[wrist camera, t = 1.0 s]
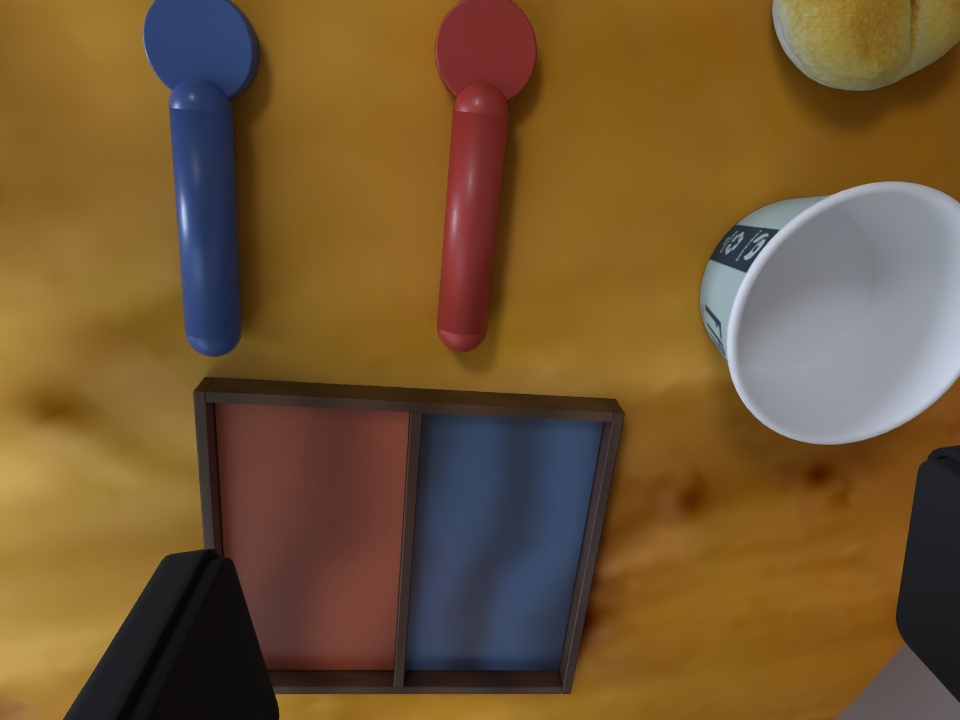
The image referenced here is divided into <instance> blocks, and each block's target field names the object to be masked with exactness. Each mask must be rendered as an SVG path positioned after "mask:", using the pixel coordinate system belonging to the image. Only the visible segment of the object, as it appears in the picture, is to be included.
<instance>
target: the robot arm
mask: <svg viewBox="0 0 960 720" xmlns="http://www.w3.org/2000/svg"><path fill="white" fill-rule="evenodd" d="M896 622H897V627H898V629H899V632H900V634H901V636H902V638H903V640H904V641H905V642H906V644H907V645H908V646H909V647H910V648H911V650H912V651H913V652H914V653H915V654H916V655H917V656H918V657H919V658H920V659H921V660H922V662H923V663H924V664H925V665H926V666H927V667H928V668H929V669H930V670H931V671H932V673H933V674H934V675H935V676H936V677H937V678H938V679H939V680H940V681H941V683H942V684H943V685H944V686H945V687H946V688H947V689H948V690H949V691H950V692H951V694H952V695H953V696H954V697H955V698H956V699H957V700H958V701H959V702H960V445H957V446H950V447H943V448H938V449H936V450H933V451H932V452H931V454H930V455H929V456H928V459H927V461H925V462H923V463H922V464H921V465H920V467H919V470H918V474H917V481H916V487H915V494H914V500H913V507H912V513H911V520H910V526H909V533H908V539H907V546H906V552H905V559H904V565H903V572H902V578H901V585H900V591H899V598H898V604H897V611H896ZM63 720H279V708H278V704H277V700H276V697H275V694H274V690H273V687H272V684H271V681H270V678H269V674H268V671H267V668H266V665H265V661H264V658H263V655H262V652H261V649H260V645H259V642H258V639H257V636H256V632H255V629H254V626H253V623H252V620H251V616H250V613H249V610H248V607H247V603H246V600H245V597H244V594H243V591H242V587H241V584H240V581H239V578H238V574H237V571H236V568H235V565H234V563H233V561H232V560H231V559H230V558H220V555H219V554H218V553H217V551H216V550H214V549H204V550H197V551H189V552H182V553H175V554H170V555H167V556H166V557H165V558H164V559H163V560H162V561H161V563H160V564H159V566H158V568H157V569H156V571H155V572H154V574H153V576H152V577H151V579H150V581H149V582H148V584H147V585H146V587H145V589H144V590H143V592H142V593H141V595H140V597H139V598H138V600H137V602H136V603H135V605H134V606H133V608H132V610H131V611H130V613H129V615H128V616H127V618H126V619H125V621H124V623H123V624H122V626H121V627H120V629H119V631H118V632H117V634H116V636H115V637H114V639H113V640H112V642H111V644H110V645H109V647H108V649H107V650H106V652H105V653H104V655H103V657H102V658H101V660H100V662H99V663H98V665H97V666H96V668H95V670H94V671H93V673H92V674H91V676H90V678H89V679H88V681H87V683H86V684H85V686H84V687H83V688H82V690H81V691H80V693H79V695H78V696H77V698H76V699H75V701H74V703H73V704H72V706H71V708H70V709H69V711H68V712H67V714H66V716H65V717H64V719H63Z"/></svg>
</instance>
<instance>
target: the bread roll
mask: <svg viewBox="0 0 960 720" xmlns="http://www.w3.org/2000/svg"><path fill="white" fill-rule="evenodd" d="M772 15H773V21H774V26H775V30H776V34H777V36H778V39H779V41H780V43H781V46H782V48H783V50H784V51H785V53H786V54H787V56H788V57H789V58H790V59H791V61H792V62H793V63H794V64H795V65H796V67H797V68H798V69H799V70H800V71H802V72H803V73H804V74H805V75H806V76H808V77H809V78H811V79H812V80H814V81H816V82H818V83H820V84H823V85H825V86H827V87H831V88H837V89H843V90H855V91H866V90H874V89H878V88H881V87H885V86H888V85H890V84H893V83H895V82H897V81H899V80H901V79H902V78H904V77H906V76H908V75H911V74H913V73H915V72H917V71H919V70H921V69H922V68H924V67H926V66H928V65H929V64H932V63H933V62H934V61H936V60H937V59H939V58H940V57H942V56H943V55H945V54H946V53H947V52H948V51H949V50H950V49H951V48H952V47H953V46H954V45H955V44H957V43H958V42H959V41H960V0H773V6H772Z"/></svg>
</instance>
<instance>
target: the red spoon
mask: <svg viewBox="0 0 960 720" xmlns="http://www.w3.org/2000/svg"><path fill="white" fill-rule="evenodd" d="M536 53H537V48H536V39H535V34H534V31H533V28H532V26H531V24H530V22H529V20H528V18H527V17H526V15H525V14H524V13H523V11H522V10H521V9H520V8H519V7H518V6H517V5H515V4H514V3H513V2H511V1H510V0H462V1H460V2H459V3H458V4H456V5H455V6H454V7H453V8H452V9H451V10H450V11H449V12H448V14H447V15H446V16H445V18H444V19H443V21H442V23H441V25H440V28H439V31H438V34H437V38H436V45H435V59H436V65H437V69H438V72H439V75H440V77H441V79H442V81H443V83H444V84H445V86H446V87H447V88H448V90H449V91H450V92H451V93H452V94H453V95H454V96H456V97H457V99H456V101H455V104H454V108H453V119H452V132H451V146H450V159H449V173H448V186H447V200H446V213H445V227H444V240H443V254H442V267H441V281H440V294H439V308H438V321H437V331H438V335H439V337H440V339H441V341H442V342H443V344H444V345H445V346H447V347H448V348H449V349H451V350H454V351H457V352H467V351H471V350H473V349H475V348H476V347H478V346H479V345H480V344H481V343H482V341H483V340H484V338H485V336H486V332H487V325H488V315H489V306H490V296H491V286H492V277H493V267H494V257H495V248H496V238H497V228H498V219H499V209H500V199H501V190H502V180H503V170H504V161H505V151H506V141H507V132H508V122H509V107H508V103H507V101H509V100H510V99H512V98H513V97H515V96H516V95H517V94H518V93H519V92H520V91H521V90H522V89H523V88H524V87H525V85H526V84H527V82H528V81H529V79H530V77H531V75H532V72H533V70H534V66H535V62H536Z"/></svg>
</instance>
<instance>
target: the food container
mask: <svg viewBox="0 0 960 720" xmlns="http://www.w3.org/2000/svg"><path fill="white" fill-rule="evenodd" d="M700 308H701V315H702V319H703V322H704V325H705V328H706V330H707V332H708V334H709V336H710V337H711V339H712V341H713V342H714V344H715V345H716V347H717V348H718V350H719V351H720V353H721V354H722V356H723V357H724V359H725V360H726V362H727V363H728V366H729V370H730V374H731V378H732V381H733V383H734V386H735V388H736V390H737V392H738V394H739V396H740V398H741V400H742V401H743V402H744V404H745V405H746V407H747V408H748V409H749V410H750V411H751V413H752V414H753V415H754V416H755V417H756V418H757V419H758V420H760V421H761V422H762V423H763V424H765V425H766V426H767V427H769V428H770V429H772V430H774V431H776V432H777V433H779V434H781V435H784V436H786V437H789V438H791V439H794V440H798V441H802V442H807V443H813V444H826V445H827V444H844V443H852V442H857V441H862V440H865V439H869V438H872V437H875V436H878V435H881V434H883V433H886V432H888V431H890V430H893V429H895V428H897V427H899V426H901V425H902V424H904V423H906V422H908V421H910V420H911V419H913V418H914V417H916V416H917V415H919V414H920V413H922V412H923V411H924V410H926V409H927V408H928V407H930V406H931V405H932V404H933V403H934V402H935V401H937V400H938V399H939V398H940V397H941V396H942V395H943V394H944V393H945V392H946V391H947V390H948V389H949V388H950V387H951V386H952V385H953V384H954V382H955V381H956V380H957V379H958V378H959V376H960V203H959V202H957V201H956V200H954V199H953V198H952V197H950V196H948V195H946V194H944V193H943V192H941V191H938V190H936V189H933V188H930V187H928V186H924V185H920V184H916V183H908V182H877V183H870V184H865V185H860V186H857V187H853V188H850V189H846V190H844V191H841V192H838V193H836V194H833V195H830V196H818V197H807V198H795V199H788V200H782V201H778V202H775V203H772V204H769V205H766V206H764V207H762V208H760V209H758V210H756V211H754V212H752V213H751V214H749V215H748V216H746V217H745V218H743V219H742V220H741V221H740V222H738V223H737V224H736V225H735V226H734V227H733V228H732V229H731V230H730V231H729V232H728V233H727V234H726V235H725V236H724V238H723V239H722V240H721V241H720V243H719V244H718V246H717V247H716V249H715V250H714V252H713V254H712V256H711V257H710V259H709V262H708V264H707V266H706V269H705V272H704V275H703V279H702V284H701V291H700Z"/></svg>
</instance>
